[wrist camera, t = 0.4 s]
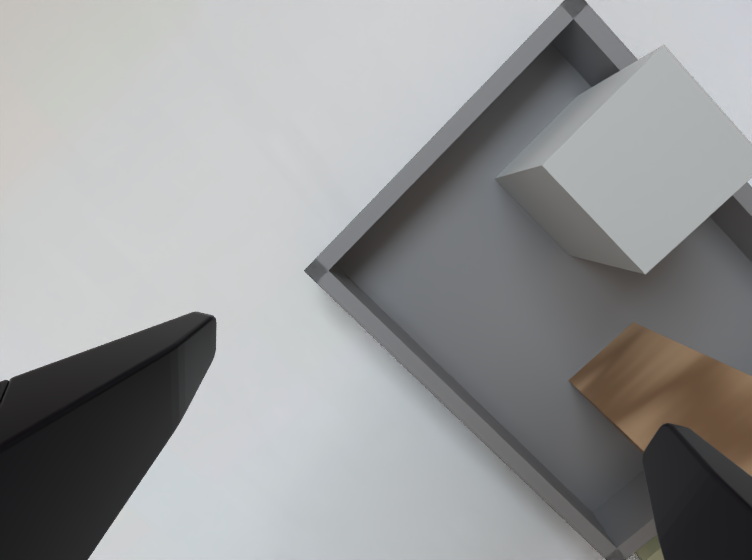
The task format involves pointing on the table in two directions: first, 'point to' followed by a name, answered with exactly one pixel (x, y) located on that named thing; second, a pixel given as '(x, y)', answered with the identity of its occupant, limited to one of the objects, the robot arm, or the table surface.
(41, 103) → the table surface
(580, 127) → the grey box
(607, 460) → the tray
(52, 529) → the robot arm
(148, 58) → the table surface
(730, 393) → the walnut box
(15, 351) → the table surface
